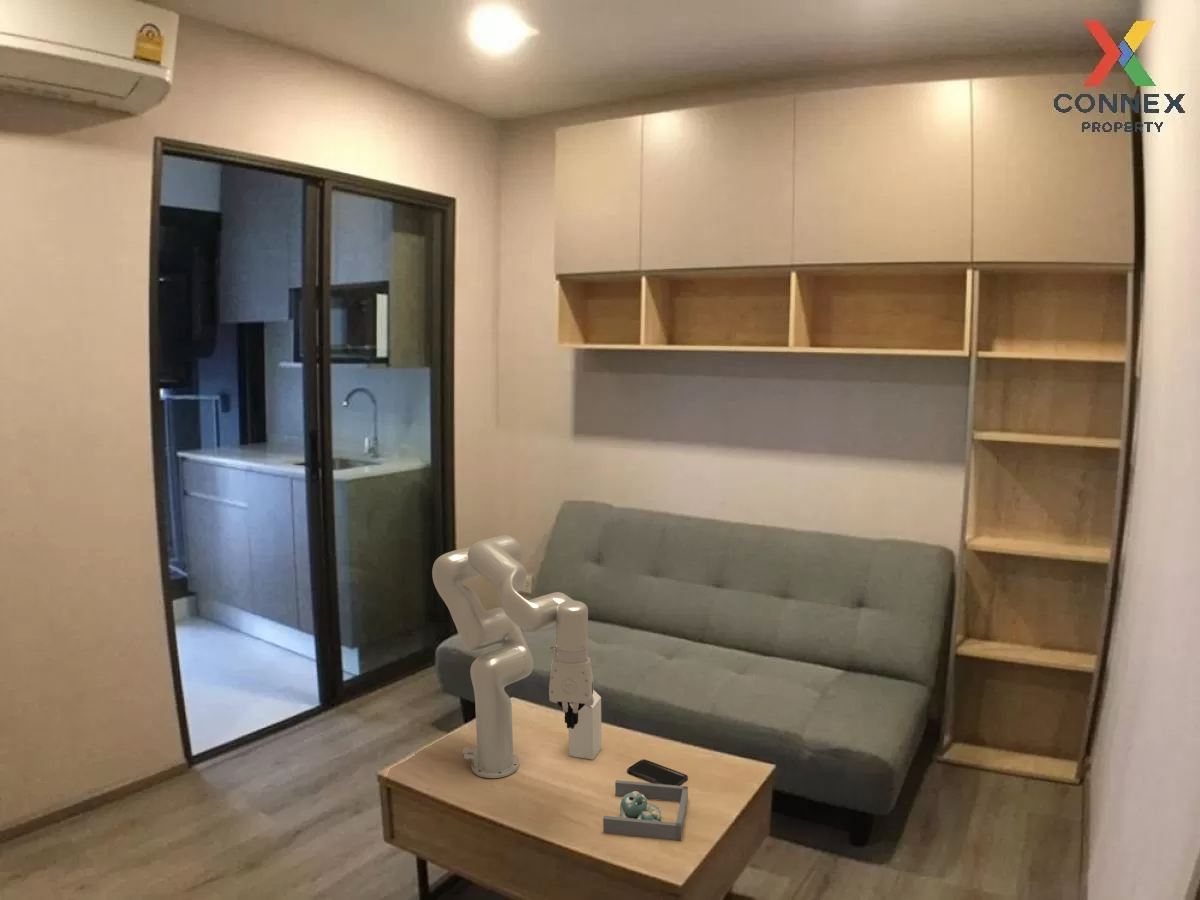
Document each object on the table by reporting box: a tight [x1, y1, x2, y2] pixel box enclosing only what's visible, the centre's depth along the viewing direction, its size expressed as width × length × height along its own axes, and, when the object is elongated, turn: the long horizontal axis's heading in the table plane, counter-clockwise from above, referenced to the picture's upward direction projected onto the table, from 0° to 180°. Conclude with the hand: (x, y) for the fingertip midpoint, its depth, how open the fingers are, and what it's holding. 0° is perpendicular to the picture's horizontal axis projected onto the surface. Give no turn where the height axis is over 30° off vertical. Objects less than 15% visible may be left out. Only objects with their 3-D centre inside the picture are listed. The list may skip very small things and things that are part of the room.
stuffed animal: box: [619, 791, 662, 821], centre depth 204 cm, size 11×7×12 cm
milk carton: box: [568, 689, 602, 761], centre depth 237 cm, size 7×7×19 cm
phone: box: [626, 758, 689, 786], centre depth 225 cm, size 8×1×15 cm
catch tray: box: [602, 779, 689, 842], centre depth 206 cm, size 18×17×4 cm
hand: (571, 725), depth 208 cm, fingers closed
